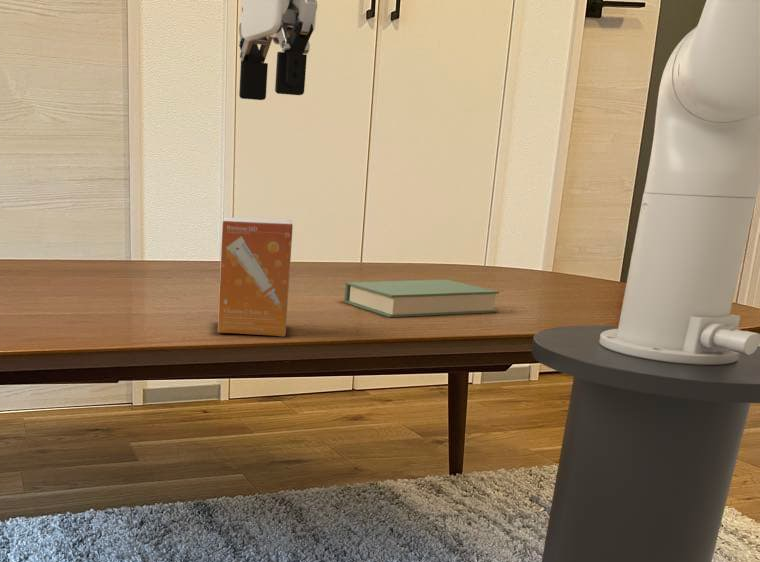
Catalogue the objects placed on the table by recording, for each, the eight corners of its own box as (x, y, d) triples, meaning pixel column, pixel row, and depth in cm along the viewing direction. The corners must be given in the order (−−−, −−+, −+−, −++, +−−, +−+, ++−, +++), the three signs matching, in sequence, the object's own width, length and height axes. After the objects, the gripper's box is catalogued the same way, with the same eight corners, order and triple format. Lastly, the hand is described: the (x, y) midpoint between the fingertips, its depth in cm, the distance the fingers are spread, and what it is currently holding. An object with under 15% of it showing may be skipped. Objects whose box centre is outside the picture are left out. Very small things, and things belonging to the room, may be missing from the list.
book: (496, 312, 111) (499, 291, 110) (389, 317, 104) (392, 295, 104) (443, 298, 122) (445, 279, 121) (344, 302, 115) (345, 282, 114)
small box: (217, 334, 90) (221, 219, 87) (219, 323, 97) (223, 216, 93) (286, 337, 90) (293, 222, 86) (284, 326, 96) (290, 218, 92)
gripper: (353, -94, 75) (337, 94, 81) (277, -54, 91) (268, 103, 96) (284, -107, 73) (272, 89, 78) (217, -63, 88) (211, 98, 93)
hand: (270, 96), depth 87 cm, fingers open, 9 cm apart
